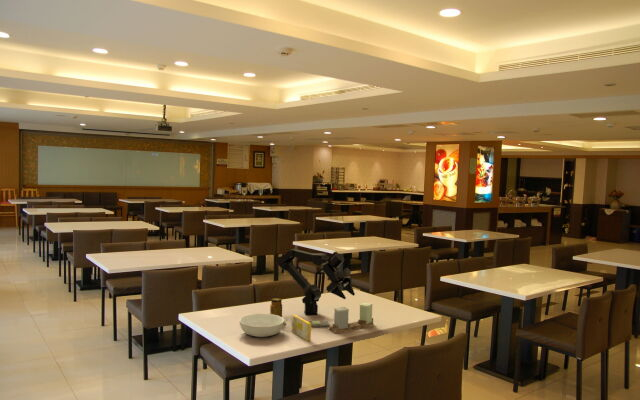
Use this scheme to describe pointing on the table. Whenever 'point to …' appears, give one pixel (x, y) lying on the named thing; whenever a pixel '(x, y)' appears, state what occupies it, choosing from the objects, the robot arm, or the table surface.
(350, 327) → the brown holder tray
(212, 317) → the table surface
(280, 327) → the serving bowl
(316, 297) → the robot arm
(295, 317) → the candy box
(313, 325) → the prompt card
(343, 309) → the slate key
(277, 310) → the condiment
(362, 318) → the sage key
